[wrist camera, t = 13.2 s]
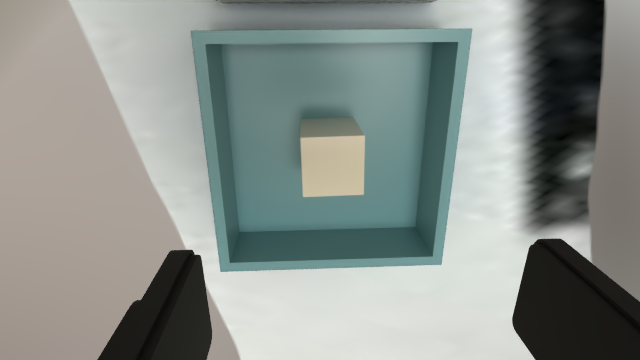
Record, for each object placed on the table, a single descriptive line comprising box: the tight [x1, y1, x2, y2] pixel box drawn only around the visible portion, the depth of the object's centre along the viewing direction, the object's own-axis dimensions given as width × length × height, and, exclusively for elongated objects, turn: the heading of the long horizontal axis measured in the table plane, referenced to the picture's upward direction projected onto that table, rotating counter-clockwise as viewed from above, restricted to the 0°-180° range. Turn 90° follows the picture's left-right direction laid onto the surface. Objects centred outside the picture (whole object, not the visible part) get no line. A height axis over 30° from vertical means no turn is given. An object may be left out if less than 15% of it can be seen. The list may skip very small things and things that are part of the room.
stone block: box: [300, 117, 365, 197], centre depth 29 cm, size 4×4×6 cm
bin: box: [191, 29, 472, 272], centre depth 30 cm, size 18×18×6 cm
